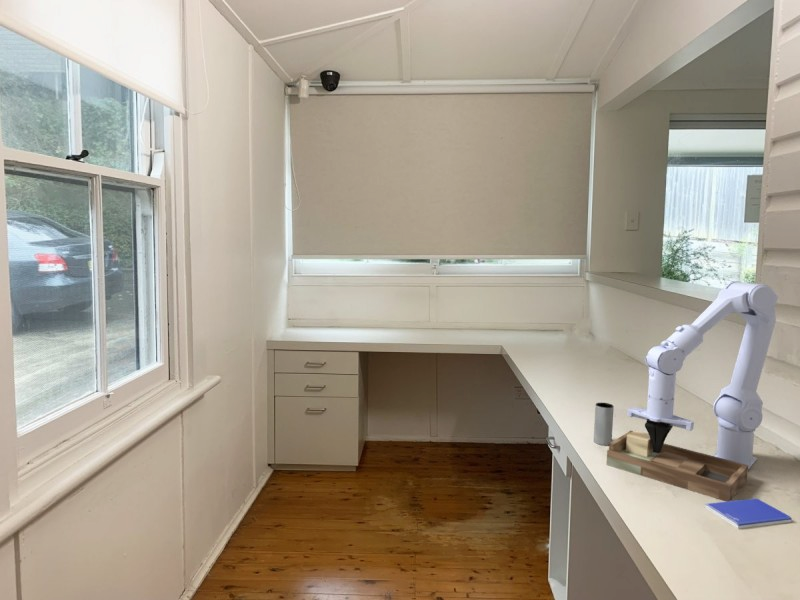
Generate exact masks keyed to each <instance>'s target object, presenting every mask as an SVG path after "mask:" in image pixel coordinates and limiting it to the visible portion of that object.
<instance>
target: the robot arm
mask: <svg viewBox="0 0 800 600" xmlns="http://www.w3.org/2000/svg"><path fill="white" fill-rule="evenodd" d="M778 298H779V296H778V295H777V294H776V292H775V291H774V290H773V288H772V287H771V286H769V285H768V284H764V283H753V282H751V283H749V282H741V281H738V280H736V281H730V282H729V283H727V285H725V287H724V288H722V289H721V290H719V292H718V295H717V297H716V299H714V300H713V302H712V303H711V304H709V306H708V307H707V308H706V309H705V310H703V312H702V313H701V314H700V315H699V316H698V317H697V318H696V319H695V320H694V321H693V322H692V323H691V324H682V325H681V326H680V325H678V326H677V327H676V328H675V329H674V330H675V331H674V332H673V333H672V334H670V336H669V337H668V338H666V339H665V340H663V341H662V342H660V345H656V346H652V348H651V349H649V350H648V351H647V352H648V353H647V354H646V356H644V362H645V364H646V365H647V367H648V387H647V399H646V401H647V403H646V409H644V408H637V407H631V406H630V407H629V408H627V413H626V415H627V417H628V418H629V417H630V418H636V419H641V420H645V423H644V427H645V429H646V431H647V434H649V436H650V439H651V443H652V447H653V452H655V453H660V452H661V450H662V446H663V443H664V444H665V440H666V439H667V437H668V434H669V433H670V432H671V430H672V429H673V427H676V428H680V429H685V431H689V432H691V431H693V430H694V425H695V423H694V422H695V421H694V420H691V419H686V418H685V417H684V418H683V417H681V416H677V415H675V414H674V406H675V393H676V389H675V388H676V376H677V373H678V372H679V371H681V369H682V368H683V365H684V361H685V360H686V358H687V356H689V355H690V354H691V353H692V352H693V351H694V350H696V348H697V347H699V346H700V345H701V344H702V343H703V342H704V334H706V333H707V332H708V331H710V330H711V329H712V328H714V327H715V326H716V325H718V324H719V322H721V321H722V320H724V319H725V318H726V317H727V316H729V315H730V314H740V316H741V317H742V318H743V319H744V322H746V325H745V328H744V332H743V336H742V340H741V342H740V347H739V350H738V353H737V357H736V358H737V359H736V361H735V365H734V368H733V372H732V375H731V381H730V384H728V385H727V386H725V387H723V388H721V389H720V392H719V396H718V397H717V398H716V399H715V400H714V403H713V404H712V412H713V414H714V415H715V416H716V418H717V422H718V426H717V427H718V429H717V442H716V451H715V452H716V453H715V454H713V456H715V457H719V458H722V459H726V460H730V461H734V462H738V463H742V464H746V465H748V471H749V470H750V469H751V467H753V465H754V464H755V463H756V461H757V460H758V458H757V457H756V456H753V455H754V454H753V452H754V451H753V450H754V444H755V443H754V441H755V433H754V432H756V430H757V428H759V426H761V424H762V421H763V411H762V409H763V404H764V403H763V400H762V399H761V397H760V396H759V394H758V392H757V389H758V386H759V383H760V380H761V376H762V372H763V368H764V365H765V362H766V358H767V354H768V350H769V346H770V344H771V340H772V336H773V332H774V328H775V325H776V321H777V316H776V309H775V308H776V305H777V301H778Z"/></svg>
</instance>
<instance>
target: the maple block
mask: <svg viewBox="0 0 800 600" xmlns="http://www.w3.org/2000/svg"><path fill="white" fill-rule="evenodd" d="M632 431H633V432H631V433H630V434H628V435H627V443H626V451H628V452H632V453H635V454H639V455H642V456H646V457H647V456H649V455H650V454H651V453H653V447H652V443H651V439H650V436H649V434H648V432H647V433H646V432H643V431H640V430H632Z"/></svg>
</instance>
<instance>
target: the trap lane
mask: <svg viewBox="0 0 800 600" xmlns="http://www.w3.org/2000/svg"><path fill="white" fill-rule="evenodd" d="M633 431H634V430H630V431H628V432H626V433H624V434H623V435H621V436H619V437H618V438H616V439H614V440H612V442H611V443H609V445H608V446H609V447H608V450H606V462H605V463H606V465H607V466H610V467H613V468H615V469H618V470H622V471H626V472H628V473H632V474H635V475H639V476H643V477H646V478H649V479H651V480H655V481H659V482H662V483H666V484H668V485H671V486H674V487H678V488H681V489H684V490H689V491H692V492H694V493H698V494H701V495H704V496H707V497H711V498H714V499H718V500H720V501H722V502H727V501H733V499H734V497H735V496H736V494H737V493H738V492H739V491H740V489H741V488H743V486H744V485H745V483H746V482H747V481H748V474H749V473H748V472H749V470H748V465H746V464H742V463H738V462H734V461H730V460H726V459H722V458H719V457H715V456H714V455H712V454H707V453H702V452H699V451H695V450H691V449H687V448H683V447H680V446H675V445H671V444H667V443H665V442H664V443H663V446H662V450H661V452H660V453H655V452H653V453H651V454H650V455H649V456H647V457H646V456H642V455H639V454H635V453H632V452H628V451H626V443H627V435H628V434H630V433H631V432H633Z"/></svg>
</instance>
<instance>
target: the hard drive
mask: <svg viewBox="0 0 800 600" xmlns="http://www.w3.org/2000/svg"><path fill="white" fill-rule="evenodd" d="M704 508H705V509H706V510H708V511H709V512H710V513H712V514H714V515H715V516H717V517H718V518H720V519H722V520H724V522H726V523H728V524H729V525H732V526H733V527H734V528H736V529H738V530H739V529H746V528H755V527H762V526H770V525H779V524H787V523H792V520H793V519H792V517H791V516H790V515H788V514H786V513H785V512H783V511H781V510H779V509H777V508H776V507H774V506H772V505H771V504H768V503H766V502H764V501H763V500H761V499H758V498H749V499H741V500H739V499H738V500H731V501H720V502H711V503H704Z"/></svg>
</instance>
